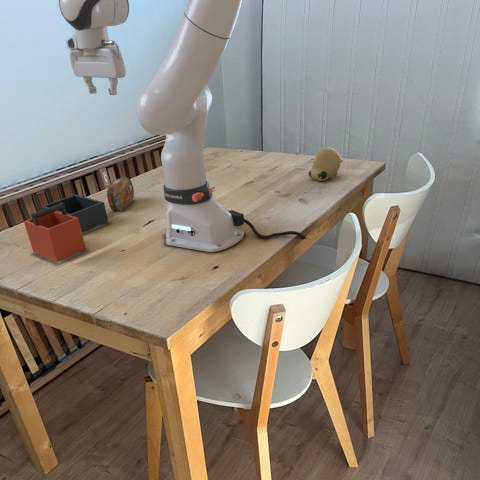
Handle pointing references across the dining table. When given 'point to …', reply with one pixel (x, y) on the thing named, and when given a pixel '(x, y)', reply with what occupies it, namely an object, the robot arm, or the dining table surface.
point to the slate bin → (83, 210)
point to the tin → (120, 193)
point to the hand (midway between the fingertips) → (103, 94)
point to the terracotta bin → (55, 233)
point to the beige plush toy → (325, 164)
